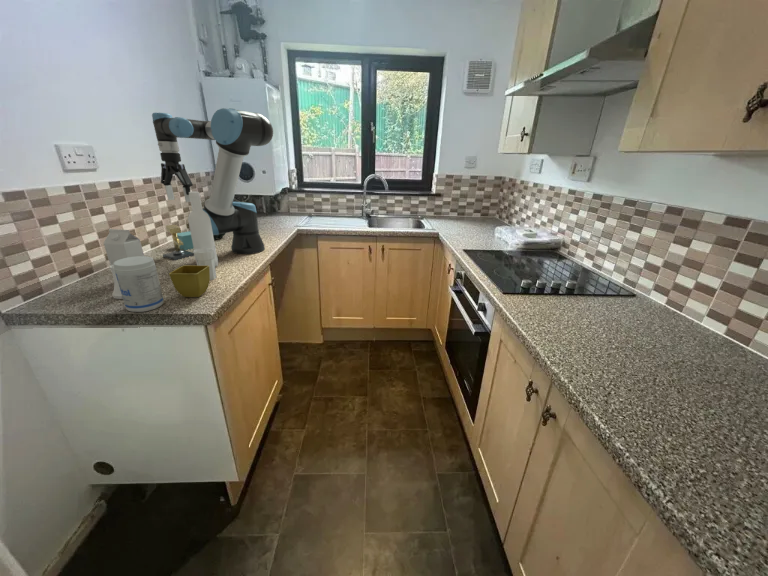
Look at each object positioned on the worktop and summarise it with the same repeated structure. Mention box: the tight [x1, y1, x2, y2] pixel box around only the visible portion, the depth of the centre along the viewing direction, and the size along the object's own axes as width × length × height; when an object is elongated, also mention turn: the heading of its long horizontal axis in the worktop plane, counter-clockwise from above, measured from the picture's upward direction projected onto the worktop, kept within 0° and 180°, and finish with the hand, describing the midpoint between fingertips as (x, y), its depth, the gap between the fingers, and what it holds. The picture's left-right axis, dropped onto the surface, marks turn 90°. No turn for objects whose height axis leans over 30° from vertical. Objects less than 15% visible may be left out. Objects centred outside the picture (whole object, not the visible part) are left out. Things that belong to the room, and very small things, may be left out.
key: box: [165, 224, 184, 251], centre depth 139 cm, size 4×14×11 cm, turn 42°
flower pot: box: [168, 264, 211, 298], centre depth 104 cm, size 9×9×9 cm
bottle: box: [187, 191, 219, 268], centre depth 127 cm, size 8×8×30 cm
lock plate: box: [162, 249, 194, 261], centre depth 143 cm, size 9×9×2 cm
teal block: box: [177, 230, 194, 251], centre depth 157 cm, size 8×9×7 cm
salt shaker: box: [108, 265, 123, 300], centre depth 102 cm, size 8×8×10 cm
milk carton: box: [103, 228, 145, 266], centre depth 111 cm, size 7×7×19 cm
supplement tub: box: [113, 255, 165, 313], centre depth 94 cm, size 10×10×15 cm
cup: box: [192, 248, 217, 281], centre depth 117 cm, size 7×7×11 cm
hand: (180, 200), depth 149 cm, fingers open, 13 cm apart
